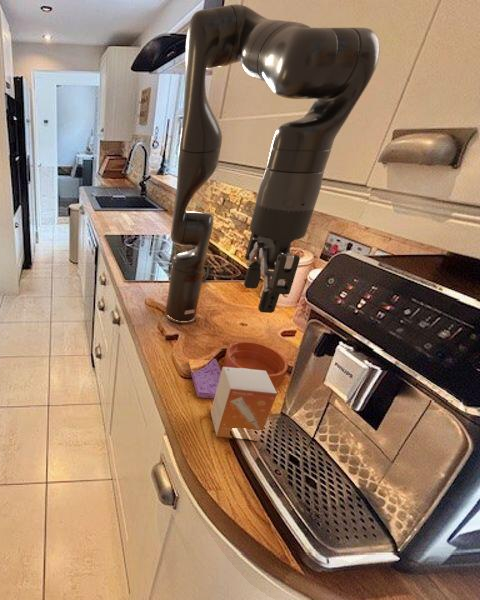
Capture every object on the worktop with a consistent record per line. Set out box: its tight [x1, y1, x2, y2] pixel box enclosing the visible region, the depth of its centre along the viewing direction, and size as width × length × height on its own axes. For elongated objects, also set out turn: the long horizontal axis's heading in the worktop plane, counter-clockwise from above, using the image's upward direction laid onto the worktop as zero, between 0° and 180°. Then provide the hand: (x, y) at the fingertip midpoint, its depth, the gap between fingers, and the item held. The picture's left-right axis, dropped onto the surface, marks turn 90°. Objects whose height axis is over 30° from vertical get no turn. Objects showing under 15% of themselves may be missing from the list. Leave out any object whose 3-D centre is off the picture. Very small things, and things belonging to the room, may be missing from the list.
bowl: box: [222, 340, 289, 390], centre depth 79 cm, size 13×13×5 cm
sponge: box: [189, 358, 222, 399], centre depth 78 cm, size 7×13×2 cm, turn 174°
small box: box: [210, 366, 278, 439], centre depth 63 cm, size 8×6×13 cm
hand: (257, 298), depth 56 cm, fingers open, 8 cm apart
